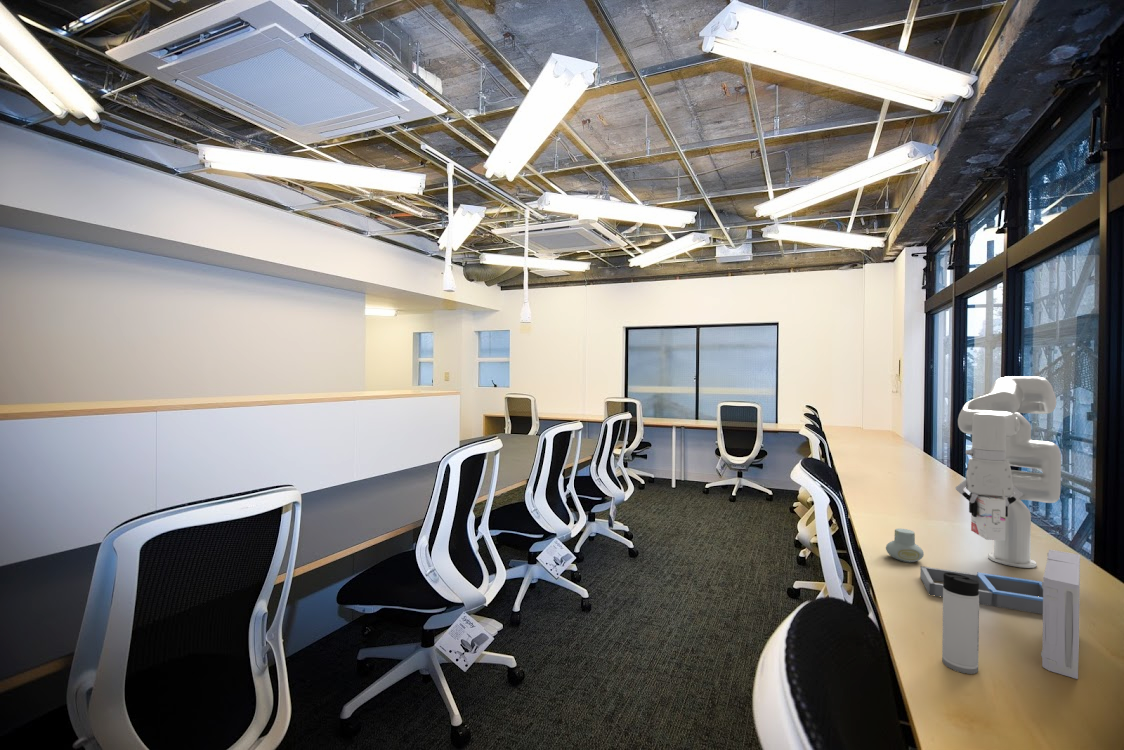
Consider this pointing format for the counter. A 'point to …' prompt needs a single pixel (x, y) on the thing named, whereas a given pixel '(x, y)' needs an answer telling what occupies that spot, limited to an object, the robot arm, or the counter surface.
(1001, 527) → the ink cartridge box
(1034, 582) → the organiser
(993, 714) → the counter surface
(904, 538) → the air freshener
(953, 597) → the travel mug
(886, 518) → the counter surface
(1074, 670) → the game console
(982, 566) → the counter surface
